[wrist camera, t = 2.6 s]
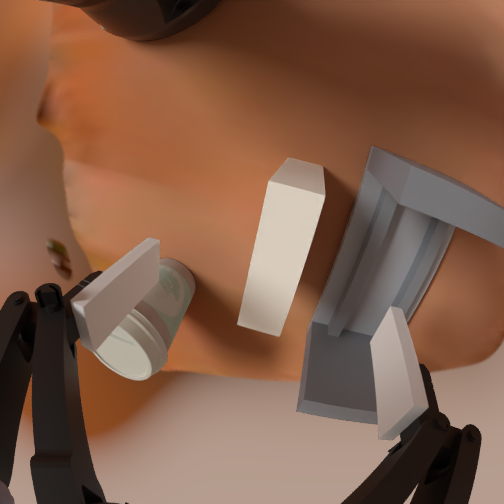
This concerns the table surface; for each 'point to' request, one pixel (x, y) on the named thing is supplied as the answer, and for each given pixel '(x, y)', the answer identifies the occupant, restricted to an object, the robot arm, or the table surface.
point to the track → (383, 275)
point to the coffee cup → (150, 325)
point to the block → (282, 244)
